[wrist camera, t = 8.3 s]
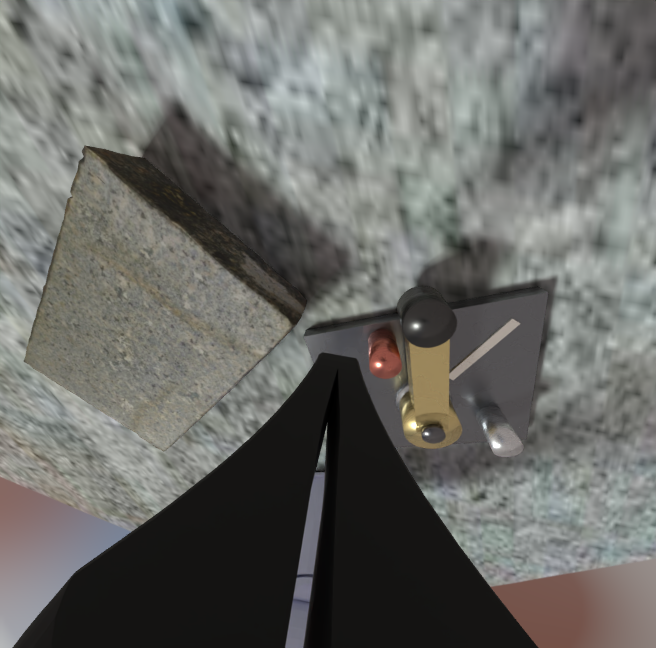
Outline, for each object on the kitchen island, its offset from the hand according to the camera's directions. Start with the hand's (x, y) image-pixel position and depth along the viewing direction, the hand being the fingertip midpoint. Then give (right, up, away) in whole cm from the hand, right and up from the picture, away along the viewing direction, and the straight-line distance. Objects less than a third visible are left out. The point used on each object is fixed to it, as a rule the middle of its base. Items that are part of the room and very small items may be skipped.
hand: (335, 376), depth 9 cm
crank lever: (+7, -1, +9) cm, 11 cm away
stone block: (-13, +3, +12) cm, 18 cm away
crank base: (+8, -4, +12) cm, 15 cm away
